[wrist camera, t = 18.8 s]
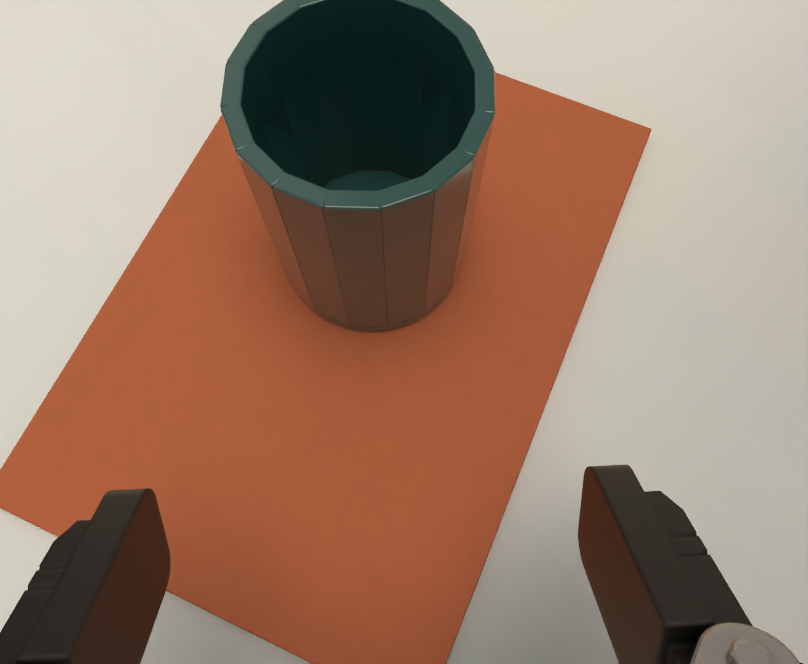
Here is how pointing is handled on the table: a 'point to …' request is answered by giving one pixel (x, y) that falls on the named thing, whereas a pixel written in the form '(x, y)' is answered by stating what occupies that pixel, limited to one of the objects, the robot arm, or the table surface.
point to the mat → (331, 398)
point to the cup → (363, 150)
